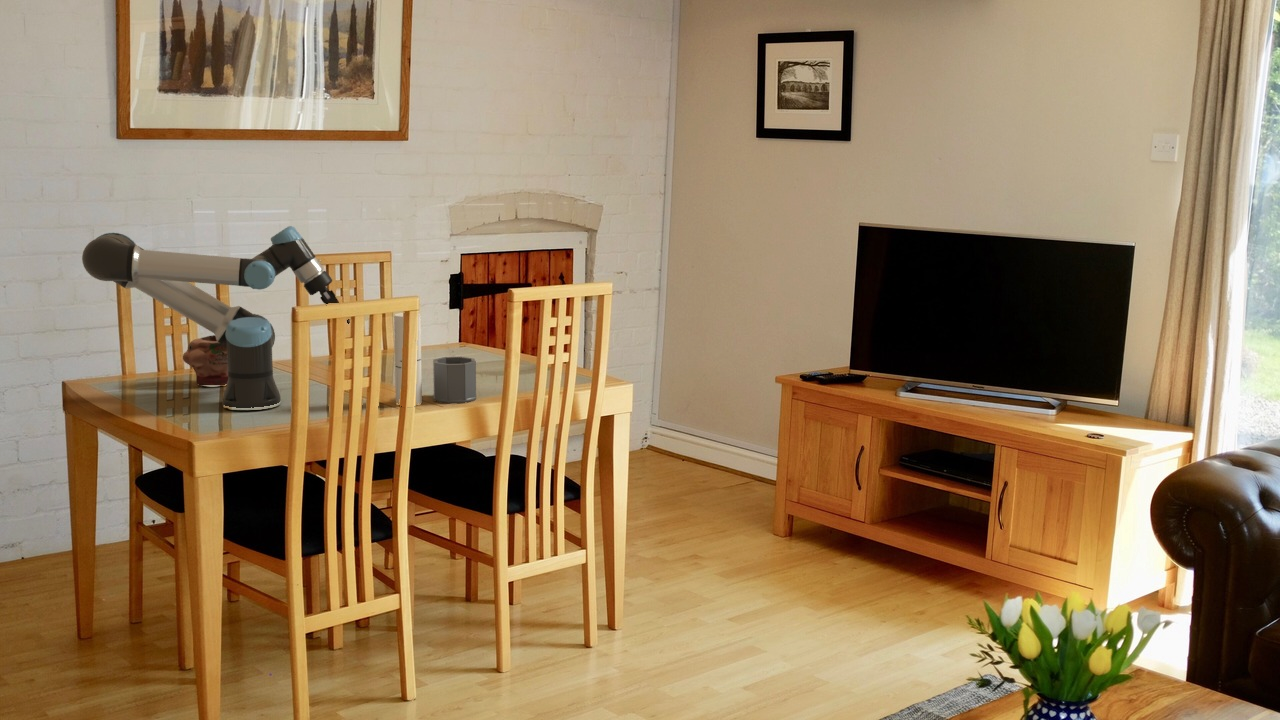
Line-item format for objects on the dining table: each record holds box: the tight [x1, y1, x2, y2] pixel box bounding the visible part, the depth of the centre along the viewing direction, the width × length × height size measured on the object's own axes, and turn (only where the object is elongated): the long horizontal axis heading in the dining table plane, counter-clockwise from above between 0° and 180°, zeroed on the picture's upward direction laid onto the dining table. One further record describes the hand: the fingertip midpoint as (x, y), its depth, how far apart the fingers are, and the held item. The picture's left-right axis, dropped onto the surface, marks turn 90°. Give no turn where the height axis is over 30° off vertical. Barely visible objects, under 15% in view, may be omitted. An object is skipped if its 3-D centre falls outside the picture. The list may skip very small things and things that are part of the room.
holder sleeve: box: [432, 356, 477, 404], centre depth 348 cm, size 12×12×11 cm
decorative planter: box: [182, 334, 228, 386], centre depth 361 cm, size 20×12×14 cm, turn 121°
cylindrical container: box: [393, 312, 423, 405], centre depth 339 cm, size 7×7×25 cm
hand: (358, 338), depth 351 cm, fingers open, 13 cm apart
